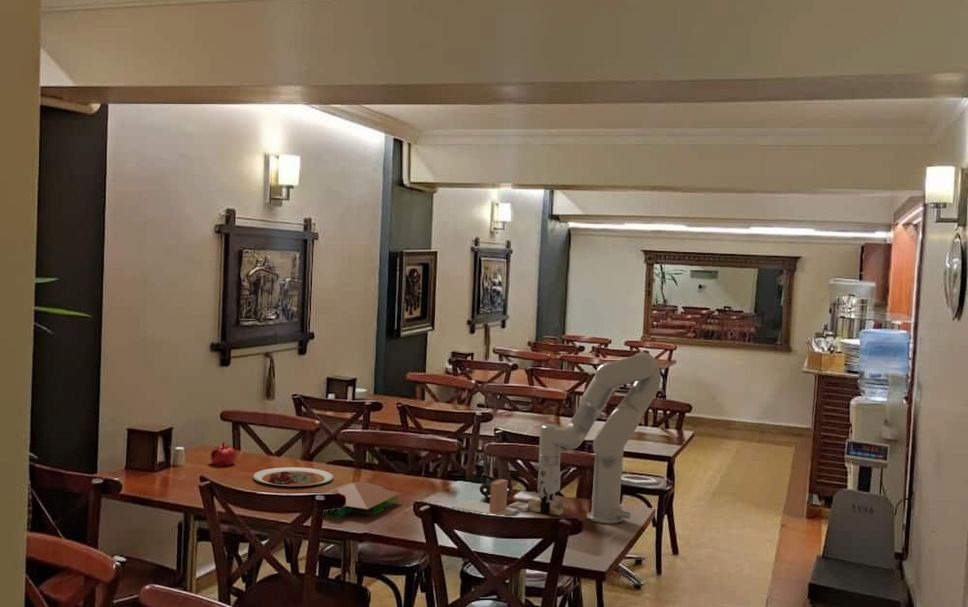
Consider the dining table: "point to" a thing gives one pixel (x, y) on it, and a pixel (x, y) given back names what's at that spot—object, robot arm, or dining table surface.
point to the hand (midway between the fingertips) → (546, 511)
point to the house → (364, 496)
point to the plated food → (291, 476)
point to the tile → (498, 496)
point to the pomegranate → (223, 455)
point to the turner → (538, 506)
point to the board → (483, 508)
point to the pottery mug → (488, 489)
